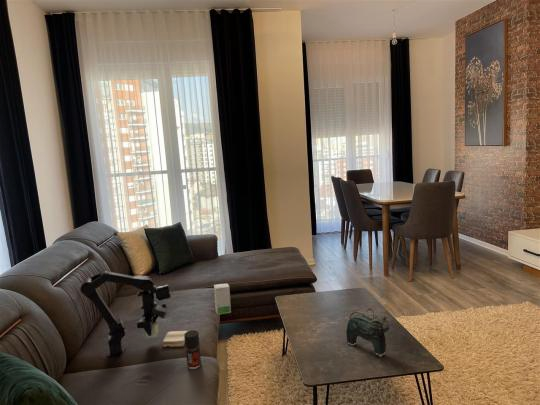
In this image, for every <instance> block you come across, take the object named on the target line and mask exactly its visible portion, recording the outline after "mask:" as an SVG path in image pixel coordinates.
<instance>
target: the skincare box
mask: <svg viewBox="0 0 540 405" xmlns="http://www.w3.org/2000/svg"><path fill="white" fill-rule="evenodd" d="M213 288H214V290H213V291H214V306H215V309H214V310H215V314H216V315H217V316H218V315H224V314H231V313H232V311H231V310H232V309H231V308H232V307H231V292H230V290H231V289H230V285H229V283H219V284H213Z"/></svg>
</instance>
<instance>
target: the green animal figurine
mask: <svg viewBox="0 0 540 405" xmlns="http://www.w3.org/2000/svg"><path fill="white" fill-rule="evenodd" d="M368 311H371V312H372V314H373V317H372V318H371V317H370V316H367V315H365V314H363V312H359V311H357V312H356V311H355V312H354V311H353V312H352V313H351V314H350V316H349V320H347V324H346V330H345V334H346V341H347V343H348V342H349V343H351V344H354V343H356V344H357V339H358V337H360V338H362V339H364V340H366V341H369V342H371V345H372V346H373V348H374V353H375V352H376V353H378V354H383V353H384V352H385V351H386V350H387V349H386V347H387V344H386V335H385V333H387V332H388V331H389V330H390V322H389V321H388V320H387V317H386V316H384V317H378V315H377V314H375V312H374V311H373V309H372V308H368V309H367V310H366V312H368ZM354 314H355V315H354ZM353 315H354V316H353Z"/></svg>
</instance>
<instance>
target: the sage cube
mask: <svg viewBox="0 0 540 405" xmlns="http://www.w3.org/2000/svg"><path fill="white" fill-rule="evenodd" d="M143 330H144V329H143ZM159 333H160V330H159V322H156V323H154V324H153V325H152V332H151V336H149V335H148V334H147V333H146V331H145V330H144V337H145V338H144V339H147V338H156V337H157V336H158V334H159Z"/></svg>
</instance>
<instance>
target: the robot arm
mask: <svg viewBox="0 0 540 405" xmlns="http://www.w3.org/2000/svg"><path fill="white" fill-rule="evenodd" d="M107 282H109V283H115V284H119V285H126V286H131V287H133V288H136V289H138V291H137V293H136V296H137V298H138V297H140V298H141V306H140V309H141V310H142V315H141V316H142V318H140V320H139V321H138V322H137V323H136V327H137V329H143V330H145V331H146V333H147V334H148V335H149V336H151V332H152V325H153V324H154V323H157V319H158V318H160V319H165V317H166V316H167V314H168V311H169V308H168V305H167V303H165V302H163V303H162V304H160V305H158V304H157V303H158V302H159V301H164V300H169V299H171V292H170V288H169V284H163V285H160V286H157V285H156V284H155V283H154V282H153V280H152V278H151V277H150V276H149V275H136V276H135V275H134V276H133V275H129V274H123V273H118V272H113V271H109V270H103V271H102V272H100V273H98V274H95V275H93V276H91V277H88V278H84V279H83V280H82V281H81V283H80V287H79V290H80V292H81V294H82V295H84V296H85V298H87V299H88V300H90V301H91V302H92V304H93V306H94V307H95V308H96V309H97V311H98V313H99V314H100V316H101V317H102V319H103V320H104V322H106V325H107V326H108V329H109V332H108V333H107V344H108V350H109V352H108V353H107V354H106V357H107V358H108V357H109V358H111V357H121V356H122V355H123V353H124V352H125V351H126V347H123V342H122V339H123V338H124V337H125V336H126V324H125V322H124V321H123V320H122V318H121V317H119V318H117V317H115V314H113V312H112V311H111V310H110V308H109V306H108V305H107V303H106V302H105V301H104V299H103V298H102V296H101V295H100V293H99V290H98V288H100V287H101V286H102V285H103V284H105V283H107ZM155 300H157V301H158V302H155ZM145 331H144V332H145Z"/></svg>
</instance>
